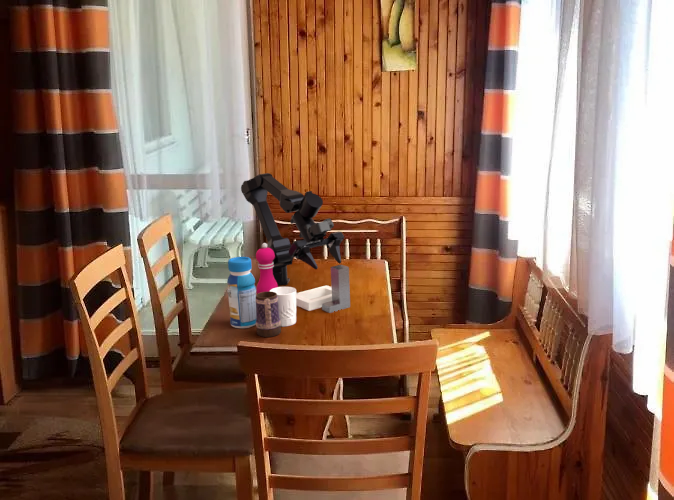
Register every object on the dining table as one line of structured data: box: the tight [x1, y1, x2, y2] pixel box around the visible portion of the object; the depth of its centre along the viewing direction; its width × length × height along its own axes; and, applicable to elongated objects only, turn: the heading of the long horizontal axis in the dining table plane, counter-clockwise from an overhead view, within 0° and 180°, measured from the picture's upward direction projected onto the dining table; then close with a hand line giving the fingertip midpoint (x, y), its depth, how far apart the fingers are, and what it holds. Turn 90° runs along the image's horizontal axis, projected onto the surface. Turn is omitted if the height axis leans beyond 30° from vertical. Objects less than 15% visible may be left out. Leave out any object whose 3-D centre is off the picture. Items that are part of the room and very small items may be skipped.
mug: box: [255, 291, 282, 338], centre depth 211 cm, size 10×7×12 cm
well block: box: [296, 285, 332, 312], centre depth 239 cm, size 11×15×2 cm
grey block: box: [321, 264, 351, 314], centre depth 231 cm, size 4×8×13 cm, turn 127°
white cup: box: [270, 286, 297, 327], centre depth 220 cm, size 8×8×10 cm
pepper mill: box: [255, 242, 279, 294], centre depth 237 cm, size 7×7×20 cm
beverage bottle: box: [226, 256, 257, 329], centre depth 219 cm, size 8×8×20 cm
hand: (328, 265), depth 235 cm, fingers open, 9 cm apart
